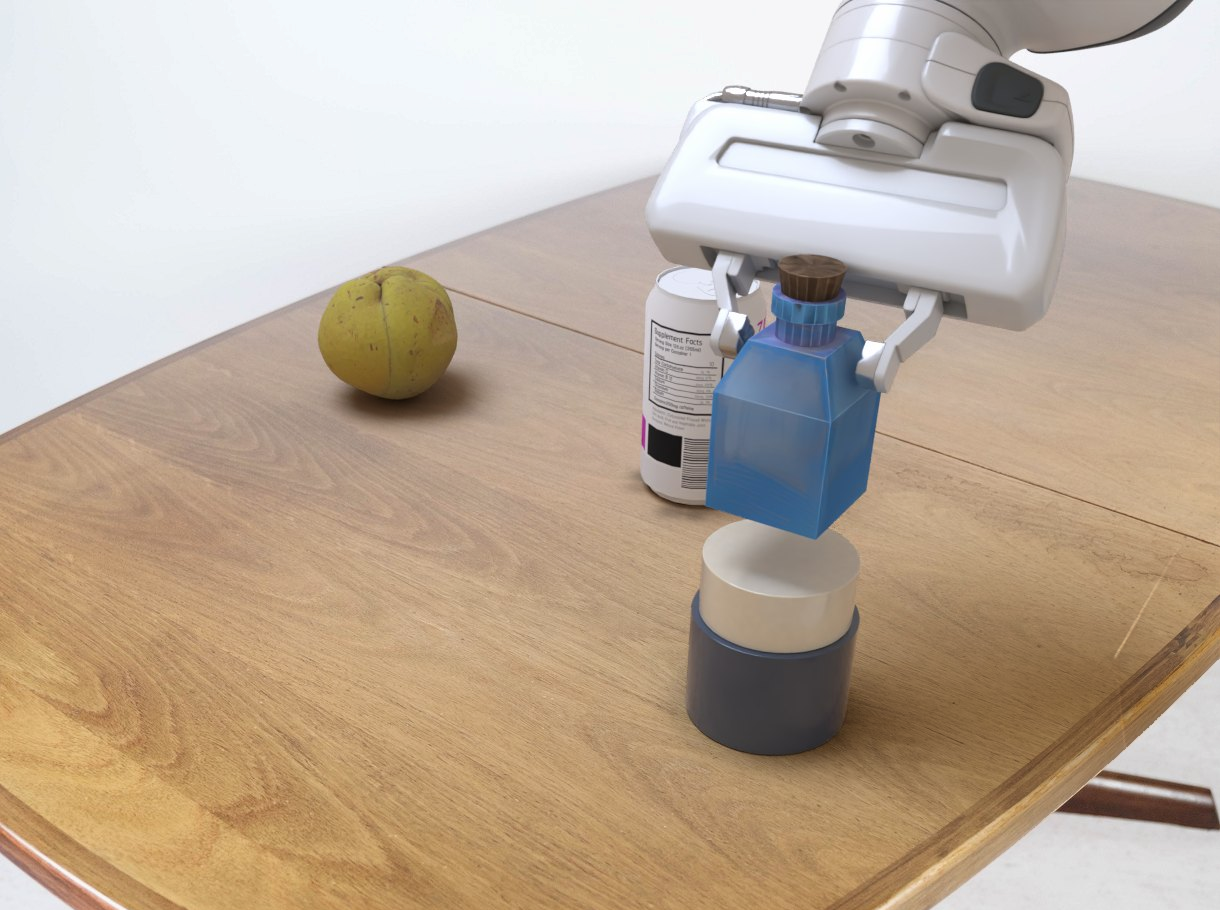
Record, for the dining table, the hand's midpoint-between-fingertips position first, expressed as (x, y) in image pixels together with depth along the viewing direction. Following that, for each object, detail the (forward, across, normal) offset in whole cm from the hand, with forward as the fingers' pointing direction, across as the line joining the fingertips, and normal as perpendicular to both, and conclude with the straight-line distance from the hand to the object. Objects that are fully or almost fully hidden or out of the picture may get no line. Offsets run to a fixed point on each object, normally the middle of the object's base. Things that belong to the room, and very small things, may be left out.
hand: (797, 369), depth 64 cm
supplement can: (-2, -15, +31) cm, 35 cm away
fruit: (-3, -44, +32) cm, 55 cm away
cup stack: (+14, 0, +15) cm, 21 cm away
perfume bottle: (+5, 0, +6) cm, 7 cm away
